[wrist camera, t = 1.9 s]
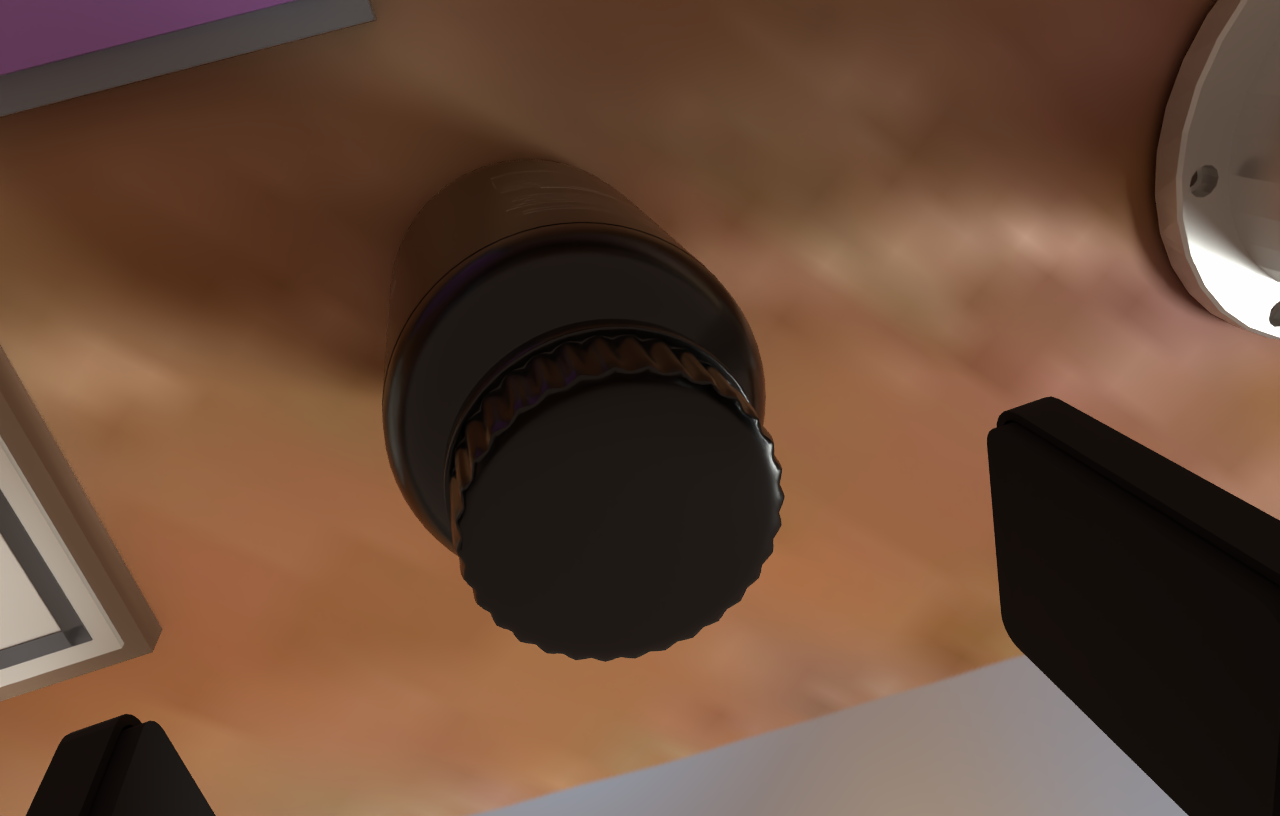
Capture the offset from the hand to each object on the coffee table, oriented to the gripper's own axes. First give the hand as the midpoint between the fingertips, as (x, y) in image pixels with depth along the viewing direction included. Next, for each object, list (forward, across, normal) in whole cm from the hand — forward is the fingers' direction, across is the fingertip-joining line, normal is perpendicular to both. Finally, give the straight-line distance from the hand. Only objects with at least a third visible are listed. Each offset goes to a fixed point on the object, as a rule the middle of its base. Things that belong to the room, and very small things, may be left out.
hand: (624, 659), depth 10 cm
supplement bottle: (+15, -1, 0) cm, 15 cm away
